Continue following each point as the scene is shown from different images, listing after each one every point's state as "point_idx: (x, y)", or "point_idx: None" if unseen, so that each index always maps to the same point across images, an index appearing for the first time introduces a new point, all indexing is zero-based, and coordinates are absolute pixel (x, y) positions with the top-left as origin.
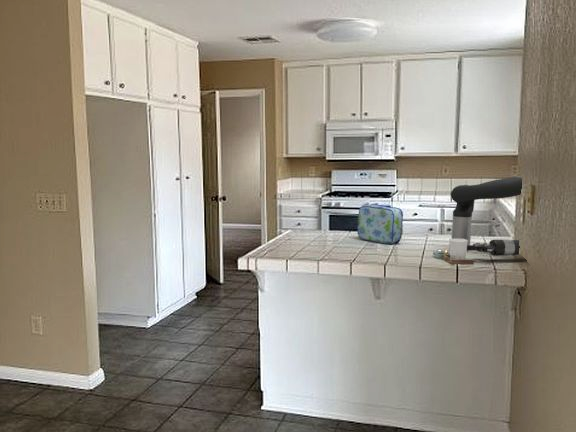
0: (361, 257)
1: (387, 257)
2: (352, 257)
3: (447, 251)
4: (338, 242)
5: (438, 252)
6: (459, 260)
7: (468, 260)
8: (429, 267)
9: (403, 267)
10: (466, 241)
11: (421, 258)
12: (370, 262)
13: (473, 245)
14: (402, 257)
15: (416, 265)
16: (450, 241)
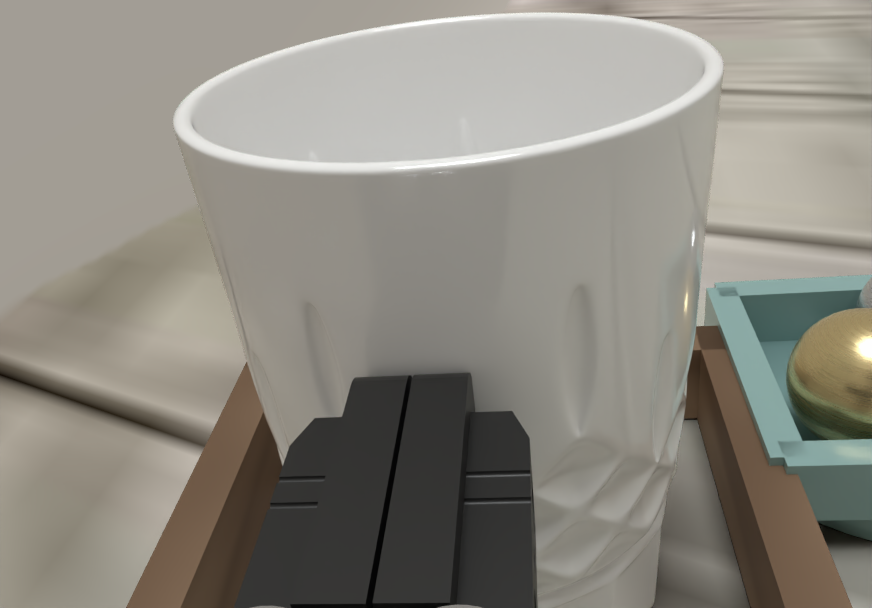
0: (714, 27)
1: (743, 88)
2: (706, 12)
3: (827, 349)
4: None
5: (863, 290)
6: (217, 426)
7: (149, 578)
8: None
9: None
10: (181, 147)
11: (740, 230)
12: None
13: (369, 574)
14: (768, 139)
15: None
16: (456, 45)
